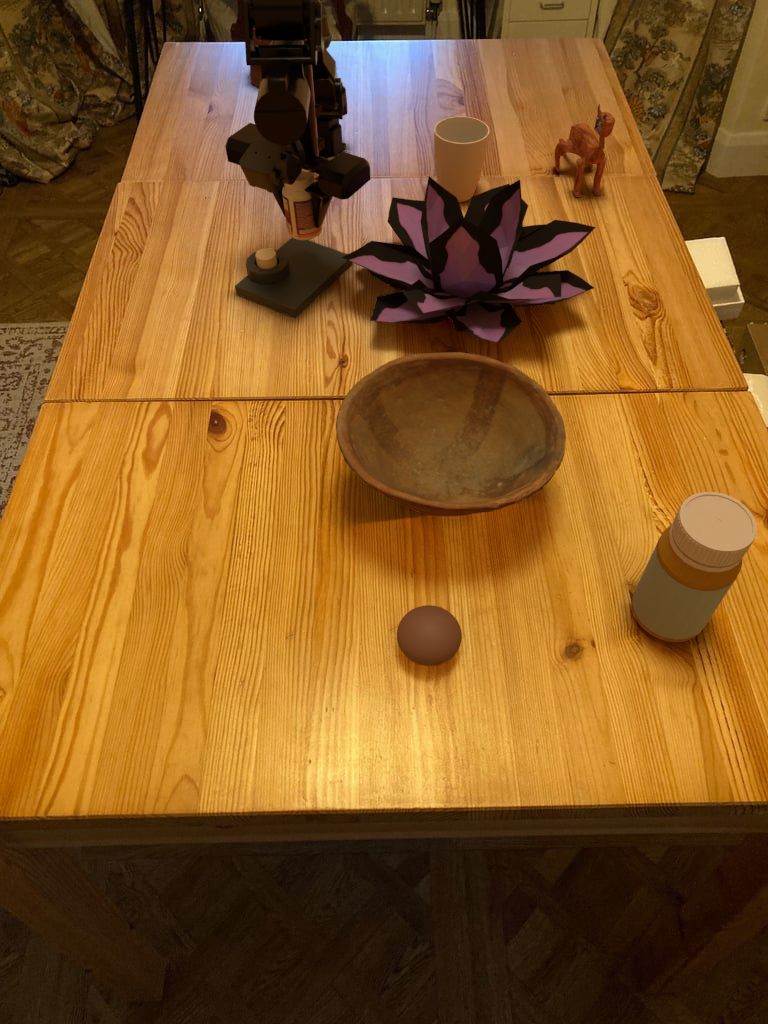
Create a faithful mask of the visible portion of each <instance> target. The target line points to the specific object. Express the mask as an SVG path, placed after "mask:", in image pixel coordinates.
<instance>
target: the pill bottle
mask: <svg viewBox="0 0 768 1024" xmlns="http://www.w3.org/2000/svg"><path fill="white" fill-rule="evenodd" d="M313 182H314V173H312V172H309V173H308V172H304V171H301V173H300V175H299V176H298V178H297V179H296V181H295V182H294V183H293V184H292V185H289V184H284V186H283V189H282V196H283V202H284V209H285V216H284V218H285V224H286V225H285V226H286V231H287V234H288V235H289V237H290V238H294V239H297V240H309V241H311V240H313V239H315V238H317V237H318V236H319V235H321V234H322V231H323V224H322V225H321V226H320V227H319V228H316V227H315V224H314V219H313V210H312V200H311V195H310V194H308V193H307V192H306V191H305V189H306V188H307V187H308V186H309V185H311V184H312V183H313Z"/></svg>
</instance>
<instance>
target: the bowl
mask: <svg viewBox="0 0 768 1024" xmlns="http://www.w3.org/2000/svg"><path fill="white" fill-rule="evenodd" d="M335 432H336V440H337V445H338V447H339V450H340V453H341V456H342V458H343V459H344V461H345V463H346V464H347V465H348V467H349V468H350V469H351V471H352V472H353V473H354V474H355V476H357V478H358V479H359V480H360V481H361V482H362V483H363V484H365V485H366V486H367V487H369V488H370V489H372V490H374V491H375V492H376V493H378V494H380V495H382V496H383V497H385V498H387V499H389V500H391V501H393V502H395V503H397V504H399V505H401V506H402V507H405V508H407V509H409V510H411V511H414V512H417V513H420V514H423V515H427V516H434V517H435V516H437V517H461V516H469V515H475V514H484V513H492V512H495V511H498V510H501V509H504V508H505V509H506V508H508V507H510V506H513V505H515V504H518V503H520V502H522V501H524V500H527V499H530V498H532V497H533V496H535V495H536V494H537V493H538V492H540V491H542V490H543V489H544V487H545V486H547V484H549V482H550V481H551V480H552V478H553V477H554V476H555V474H556V472H557V471H558V470H559V468H560V467H561V464H562V462H563V460H564V456H565V454H566V453H565V452H566V443H567V433H566V432H567V431H566V426H565V423H564V419H563V416H562V414H561V413H560V411H559V409H558V407H557V406H556V405H555V403H554V402H553V400H552V398H551V396H550V395H549V393H548V392H547V391H546V389H545V388H544V387H543V386H542V385H541V384H540V383H538V382H537V381H536V380H535V379H533V378H531V377H530V376H529V375H528V374H526V373H525V372H524V371H522V370H520V369H519V368H518V367H516V366H514V365H511V364H509V363H506V362H502V361H501V360H498V359H495V358H492V357H490V356H487V355H486V356H485V355H481V354H476V353H468V352H461V351H460V352H459V351H448V352H447V351H446V352H429V353H427V352H425V353H414V354H413V353H412V354H407V355H404V356H401V357H398V358H395V359H393V360H391V361H388V362H386V363H384V364H382V365H380V366H379V367H377V368H375V369H374V370H373V371H371V372H370V373H368V374H367V375H365V376H364V377H362V378H361V379H360V380H358V381H357V382H356V383H355V384H354V385H353V386H352V388H351V389H350V390H349V391H348V392H347V393H346V395H345V397H344V399H343V401H342V402H341V404H340V407H339V409H338V410H337V415H336V420H335Z"/></svg>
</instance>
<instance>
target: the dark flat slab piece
mask: <svg viewBox="0 0 768 1024" xmlns="http://www.w3.org/2000/svg"><path fill="white" fill-rule="evenodd" d="M274 250H275V252H276V256H277V265H276V266H275V267H273V268H270V269H261V268H259V267H258V266H257V262H256V255H255V254H256V252H257V251H254V252H252V254H250V255H249V256H248V257H247V258H246V260H245V269H246V276H244V278H242V279H241V280H240V281H238V283H236V284H235V285H234V289H235V295H237V296H239V297H242V298H244V299H247V300H249V301H252V302H254V303H256V304H259V305H262V306H264V307H267V308H269V309H271V310H274V311H276V312H278V313H282V314H285V315H286V316H289V317H291V318H294V319H296V318H297V317H299V316H300V314H301V313H303V312H304V311H305V310H306V309H307V308H308V307H309V306H310V305H311V304H313V302H314V301H316V299H318V298H319V297H320V296H321V295H322V294H323V293H324V292H325V291H326V290H327V289H328V288H329V287H331V285H332V284H334V283H335V281H336V280H337V279H339V278H340V277H341V276H342V275H343V274H344V273H345V272H346V271H347V270H348V269H349V268H351V266H352V265H353V263H352V262H350V261H348V260H346V259H343V258H342V257H344V256H345V255H347V254H348V253H345V252H343V251H340V250H336V249H334V248H331V247H328V246H326V245H323V244H320V243H317V242H315V241H312V240H297V239H294V238H292V237H290V238H289V239H288V240H287V241H286V242H285V243H284V244H283V245H281V246H280V247H279V248H277V249H274Z"/></svg>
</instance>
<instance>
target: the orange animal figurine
mask: <svg viewBox="0 0 768 1024" xmlns="http://www.w3.org/2000/svg"><path fill="white" fill-rule="evenodd" d="M615 123H616V118H615V117H614V115H613V114H612V113H610V112H608V111H602V110H601V103H598V106H597V116H596V118H595V123H594V127H593V130H594V131H593V130H592V129H591V127H590V126H589V124H587V123H586V122H585V123H584V122H583V123H574V124H572V125H571V126H570V130H569V136H568V139H566V140H565V139H564V138H559V139H558V143H557V144H556V146H555V148H554V169H555V171H557V172H558V173H560V172H561V168H560V164H561V157H563V156H564V155H566V154H567V153H570V154H574V155H577V156H578V157H579V158H577V159H576V161H575V164H576V173H575V177H574V181H573V195H574V197H575V198H581V197H582V194H581V191H580V190H581V181H582V178H583V173H584V169H585V166H587V168H588V169H589V170H593V169H594V165H596V168H595V173H594V176H593V181H592V191H593V195H595V196H601V195H602V192H601V182H602V177H603V174H604V172H605V167H606V163H607V157H606V153H605V151H604V149H605V143H606V142H605V141H606V140H605V139H606V138H608V137H610V135H611V134H612V133H613V131H614V130H613V129H614V126H615ZM597 136H599V138H598V137H597Z"/></svg>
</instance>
